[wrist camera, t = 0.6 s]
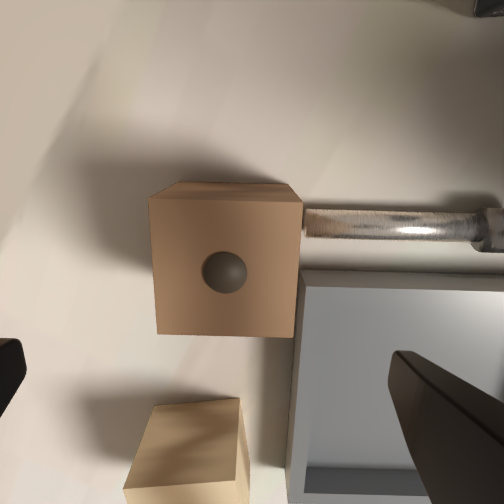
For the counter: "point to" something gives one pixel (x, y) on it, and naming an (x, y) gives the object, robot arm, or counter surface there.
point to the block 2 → (192, 456)
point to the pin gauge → (410, 226)
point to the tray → (378, 374)
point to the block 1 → (225, 258)
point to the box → (489, 8)
